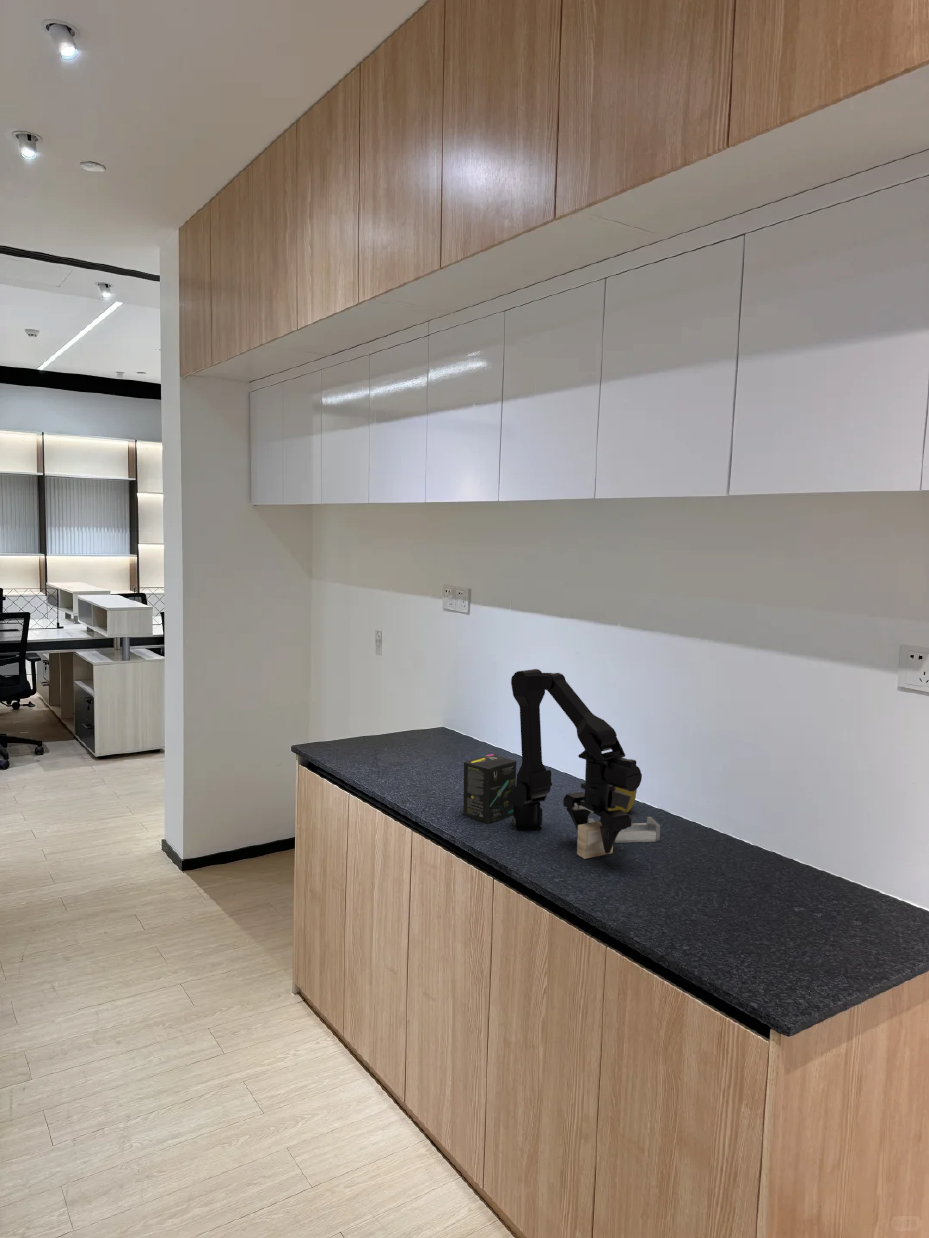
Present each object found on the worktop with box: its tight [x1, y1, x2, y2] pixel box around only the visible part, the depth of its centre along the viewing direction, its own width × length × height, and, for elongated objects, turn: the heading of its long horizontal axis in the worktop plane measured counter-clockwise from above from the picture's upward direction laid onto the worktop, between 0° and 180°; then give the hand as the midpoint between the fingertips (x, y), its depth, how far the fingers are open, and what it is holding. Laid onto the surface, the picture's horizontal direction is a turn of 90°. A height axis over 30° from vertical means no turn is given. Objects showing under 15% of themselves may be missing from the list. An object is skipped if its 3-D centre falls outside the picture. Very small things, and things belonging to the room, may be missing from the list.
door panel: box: [576, 820, 614, 860], centre depth 192 cm, size 8×3×7 cm, turn 118°
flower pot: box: [608, 787, 638, 813], centre depth 223 cm, size 9×9×9 cm
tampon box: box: [462, 753, 517, 825], centre depth 216 cm, size 11×9×15 cm
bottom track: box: [588, 816, 661, 844], centre depth 202 cm, size 16×6×4 cm, turn 98°
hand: (595, 845), depth 192 cm, fingers open, 9 cm apart
